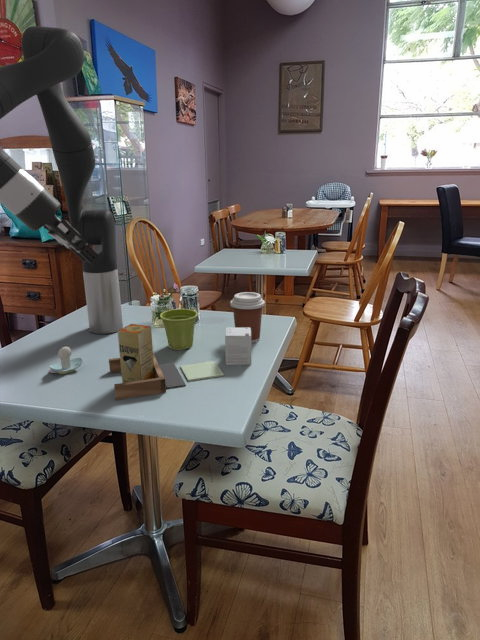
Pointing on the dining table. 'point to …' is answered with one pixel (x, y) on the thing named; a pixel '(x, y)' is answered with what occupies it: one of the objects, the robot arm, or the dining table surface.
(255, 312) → the coffee cup
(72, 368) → the pacifier
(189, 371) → the pad
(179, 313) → the plant pot
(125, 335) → the shoe polish box
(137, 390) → the brown wooden u-shaped piece
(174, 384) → the dark grey flat bar
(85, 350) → the dining table surface
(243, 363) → the skincare box
